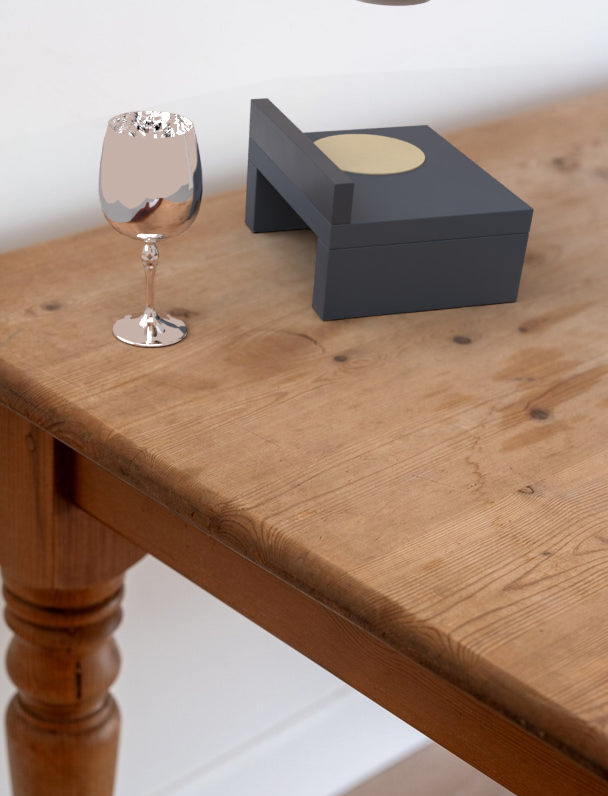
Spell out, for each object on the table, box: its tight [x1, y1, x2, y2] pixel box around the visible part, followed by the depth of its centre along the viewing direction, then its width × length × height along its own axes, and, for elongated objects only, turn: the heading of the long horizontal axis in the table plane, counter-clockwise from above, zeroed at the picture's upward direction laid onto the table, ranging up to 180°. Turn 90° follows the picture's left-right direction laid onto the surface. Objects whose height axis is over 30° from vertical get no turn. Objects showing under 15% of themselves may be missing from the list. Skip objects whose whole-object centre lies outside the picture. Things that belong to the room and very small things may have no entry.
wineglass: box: [97, 110, 204, 348], centre depth 73 cm, size 6×6×12 cm
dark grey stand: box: [244, 97, 535, 321], centre depth 84 cm, size 13×16×8 cm
